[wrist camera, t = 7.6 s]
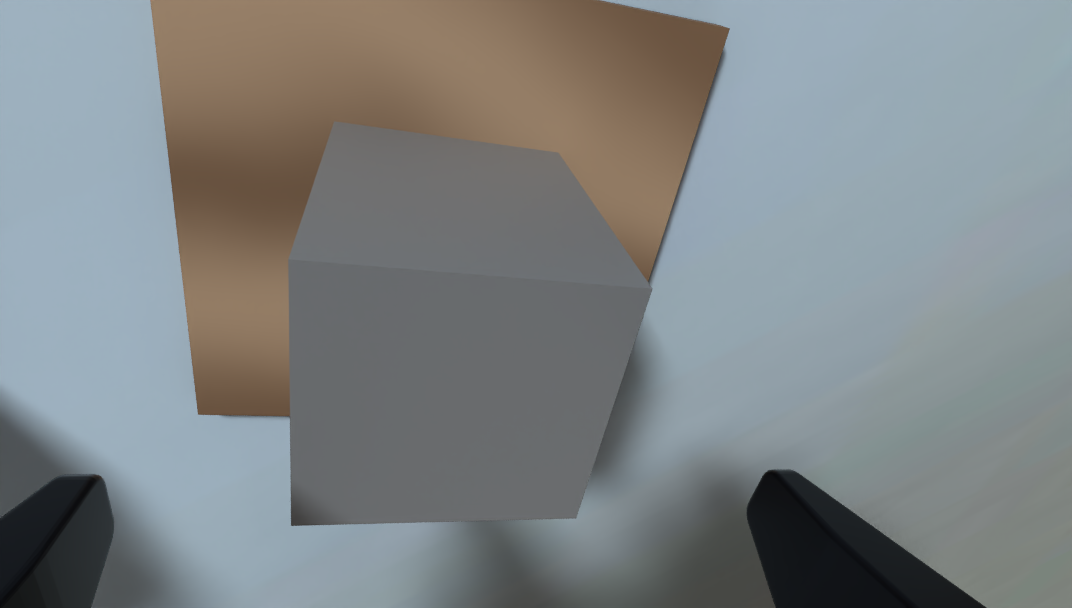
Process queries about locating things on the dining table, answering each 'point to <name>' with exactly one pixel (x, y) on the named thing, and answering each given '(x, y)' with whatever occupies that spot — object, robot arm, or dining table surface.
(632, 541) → the dining table surface
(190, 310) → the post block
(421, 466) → the grey rectangular block
